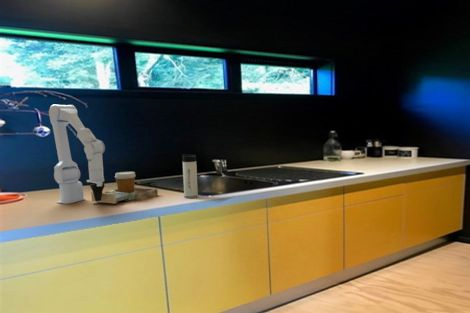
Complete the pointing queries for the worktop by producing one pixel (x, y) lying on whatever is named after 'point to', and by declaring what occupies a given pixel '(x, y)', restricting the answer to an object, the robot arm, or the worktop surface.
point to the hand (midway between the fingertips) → (98, 200)
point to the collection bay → (143, 193)
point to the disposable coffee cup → (125, 181)
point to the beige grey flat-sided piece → (115, 197)
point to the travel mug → (190, 176)
